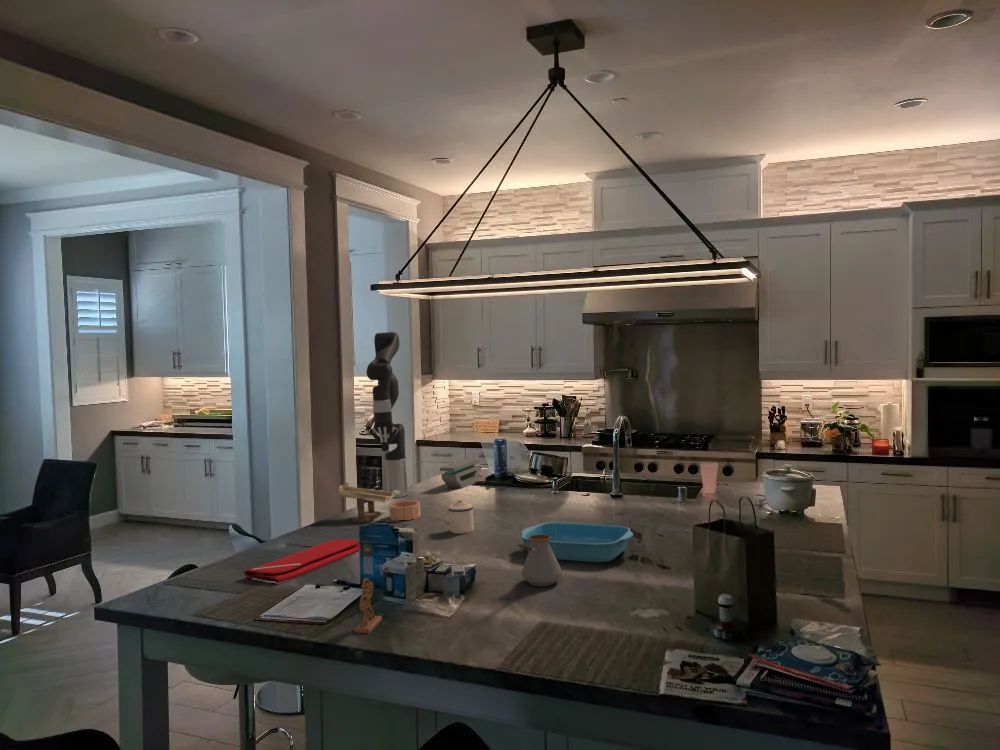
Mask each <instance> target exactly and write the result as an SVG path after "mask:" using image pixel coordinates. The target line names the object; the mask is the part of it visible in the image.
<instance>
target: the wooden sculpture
mask: <svg viewBox="0 0 1000 750" xmlns="http://www.w3.org/2000/svg"><path fill="white" fill-rule="evenodd" d="M361 590H362V591H361V592H362V595H361V596H360V599H359V604H358V605H359V607H358V608H359V611H361V612H362V611H363V614H362V620H361V622H360V623H359V624H358V625H357V626H356V627H355V628H354V633H355V634H370V633H371V632H372V631H373V630H374V629H375V628H376V627H377V626H378V624H379V623H381V622H382V620H383V618H382V615H375V612H374V610H373V607H372V603H371V601H372V600H371V597H372V596H373V593H374V582H373V581H370V579H369V578H367V577H366V578H363V580H362V582H361ZM364 599H365V600H364ZM367 609H368V610H367Z"/></svg>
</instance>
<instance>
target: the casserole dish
mask: <svg viewBox="0 0 1000 750" xmlns="http://www.w3.org/2000/svg"><path fill="white" fill-rule="evenodd" d="M520 534H521V539H522V542H523V543H524V545H527V546H529V547H531V542H530V540H529V539H528V537H529V536H533V535H539V534H544V535H549V536H551V539H550V541H549V545H550V547H551V549H552V551H553V553H554V555H555V557H556V559H557V560H561V561H572V562H573V561H575V562H589V563H606V562H611V561H613V560H615V559H616V558H617V557H618V556H619V555H620V554H621V553H622V552H624V550H625V549H626V548H627V546H628V542H629V540H630V539H631V538H632V537H634V533H633V532H632V531H631V528H630V527H628V526H625V525H623V526H622V525H615V524H614V525H613V524H598V523H597V524H596V523H583V522H564V521H561V522H560V521H551V522H548V521H547V522H542V523H540V524H537V525H536V524H535V525H534V526H533V525H532V526H529V527H526V528H524V529H523V530H521V532H520ZM527 552H528V553H529V550H527Z"/></svg>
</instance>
